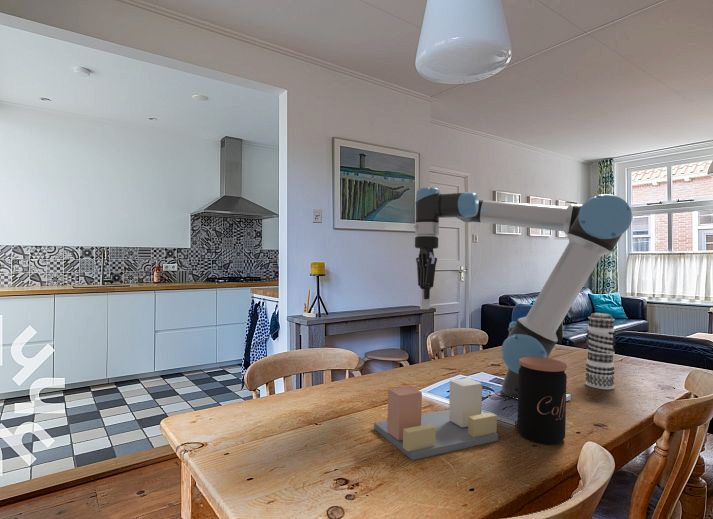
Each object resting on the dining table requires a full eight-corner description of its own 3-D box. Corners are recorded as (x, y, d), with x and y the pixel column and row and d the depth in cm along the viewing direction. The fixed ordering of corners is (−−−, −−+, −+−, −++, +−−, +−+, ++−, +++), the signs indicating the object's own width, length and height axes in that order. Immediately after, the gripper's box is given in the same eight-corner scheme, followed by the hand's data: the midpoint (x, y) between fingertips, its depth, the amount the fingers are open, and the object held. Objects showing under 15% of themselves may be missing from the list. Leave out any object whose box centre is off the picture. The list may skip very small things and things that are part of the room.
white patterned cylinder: (606, 382, 144) (608, 312, 144) (620, 390, 134) (622, 316, 134) (579, 380, 144) (581, 311, 145) (592, 388, 135) (593, 315, 135)
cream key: (448, 419, 101) (449, 380, 101) (467, 416, 104) (468, 377, 104) (462, 427, 97) (463, 386, 97) (481, 423, 99) (482, 383, 99)
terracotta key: (387, 431, 93) (388, 388, 93) (408, 427, 96) (409, 385, 96) (398, 440, 89) (399, 395, 89) (420, 436, 91) (421, 392, 91)
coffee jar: (537, 448, 91) (539, 368, 91) (507, 428, 101) (509, 357, 101) (576, 443, 94) (577, 366, 94) (543, 425, 104) (544, 355, 104)
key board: (372, 428, 99) (372, 406, 99) (452, 414, 110) (453, 394, 110) (410, 460, 84) (410, 434, 84) (499, 440, 94) (500, 416, 94)
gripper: (409, 236, 135) (407, 306, 135) (422, 234, 123) (420, 311, 123) (430, 237, 137) (428, 306, 137) (445, 235, 124) (443, 311, 124)
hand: (424, 308), depth 130 cm, fingers closed
